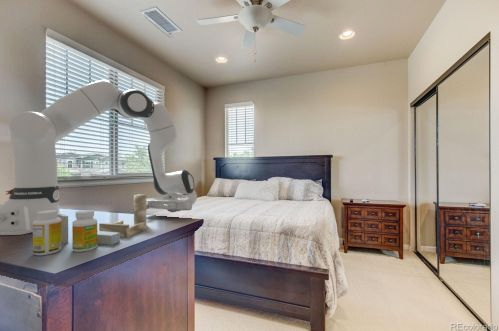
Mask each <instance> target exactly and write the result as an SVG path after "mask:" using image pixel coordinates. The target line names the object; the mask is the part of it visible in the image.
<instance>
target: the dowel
mask: <svg viewBox="0 0 499 331" xmlns="http://www.w3.org/2000/svg"><path fill="white" fill-rule="evenodd" d="M146 199H147V194H144V193H143V194H134V195H133V225H136V224H139V223H142V222H146V223H147V208H146Z"/></svg>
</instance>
